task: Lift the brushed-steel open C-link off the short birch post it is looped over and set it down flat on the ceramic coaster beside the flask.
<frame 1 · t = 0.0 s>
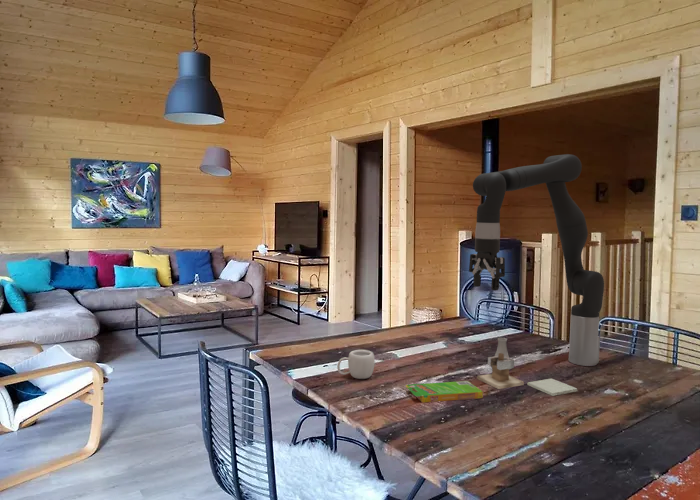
hand: (485, 288, 161), 29 cm above the table, fingers open, 8 cm apart
game box: (443, 396, 148), on the table
flask: (501, 367, 175), on the table
c link: (500, 366, 159), point 5 cm above the table, touching post stand
post stand: (500, 381, 160), on the table
coaster: (551, 388, 155), on the table
mug: (355, 377, 163), on the table
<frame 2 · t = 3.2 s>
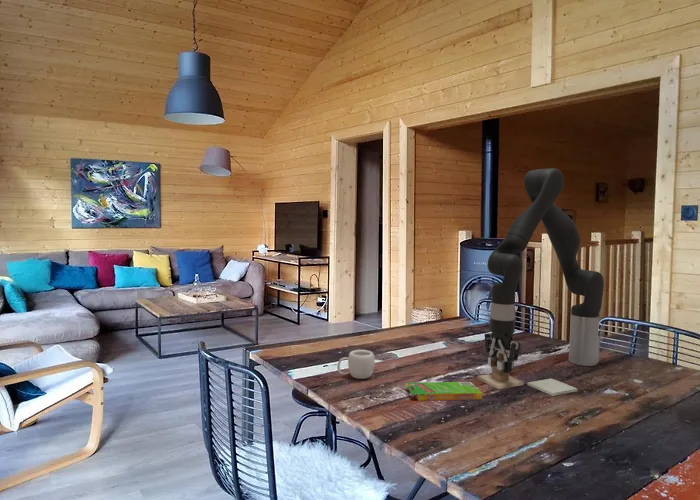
hand: (500, 369, 160), 4 cm above the table, fingers closed on c link, 5 cm apart
c link: (500, 366, 159), point 5 cm above the table, touching gripper, post stand
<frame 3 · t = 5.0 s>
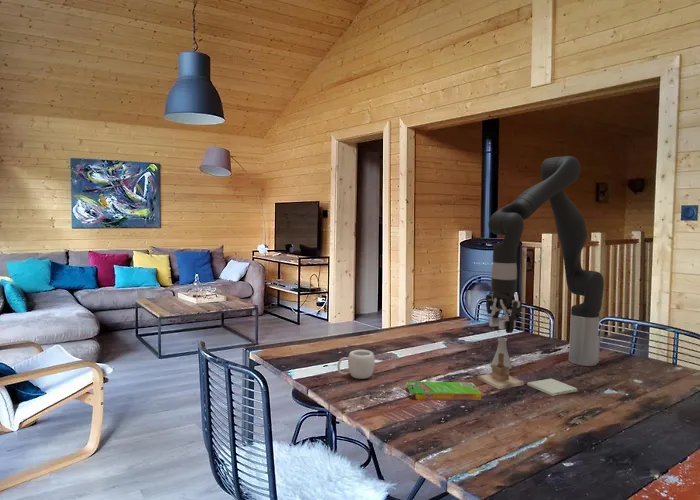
hand: (502, 330, 159), 17 cm above the table, fingers closed on c link, 5 cm apart
c link: (502, 326, 158), point 18 cm above the table, touching gripper
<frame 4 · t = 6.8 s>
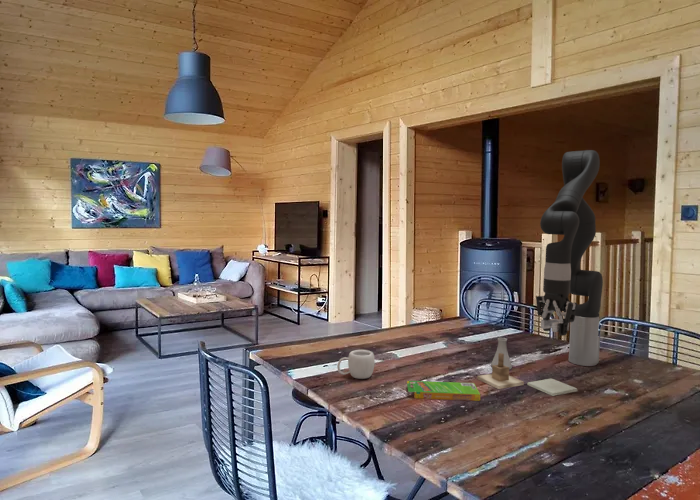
hand: (554, 332, 154), 17 cm above the table, fingers closed on c link, 5 cm apart
c link: (554, 329, 153), point 18 cm above the table, touching gripper
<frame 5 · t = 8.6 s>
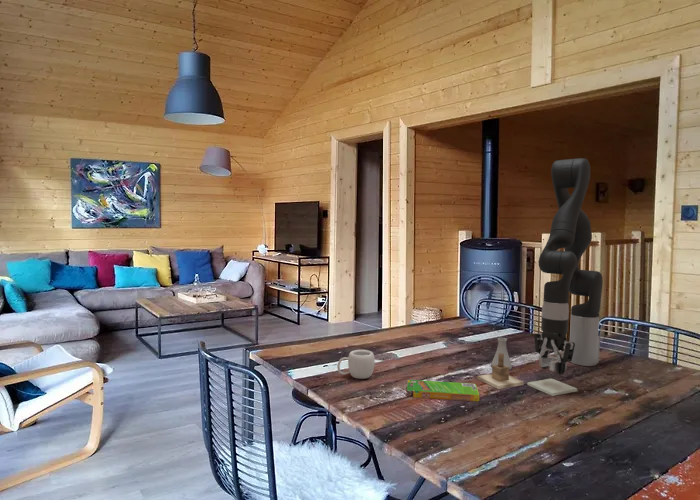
hand: (552, 370, 154), 5 cm above the table, fingers closed on c link, 5 cm apart
c link: (552, 367, 154), point 6 cm above the table, touching gripper
when the fingers open (2 cm above the table, at t = 10.4 s): c link drops 2 cm, resting on coaster.
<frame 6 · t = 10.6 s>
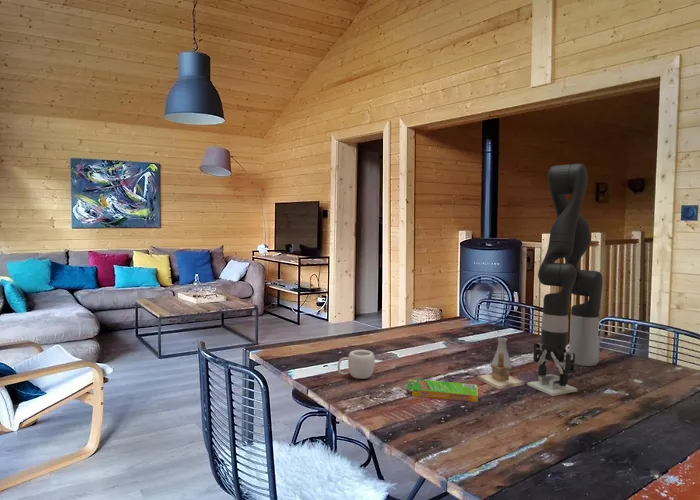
hand: (552, 381, 155), 2 cm above the table, fingers open, 7 cm apart
c link: (552, 385, 155), point 1 cm above the table, touching coaster
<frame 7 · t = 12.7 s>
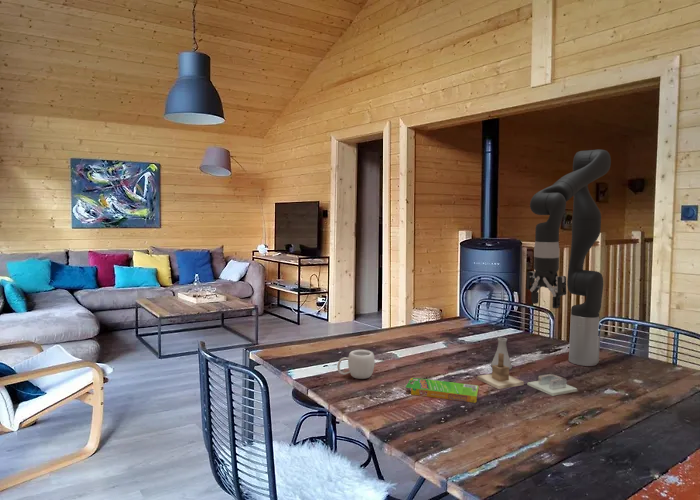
hand: (545, 305, 163), 24 cm above the table, fingers open, 8 cm apart
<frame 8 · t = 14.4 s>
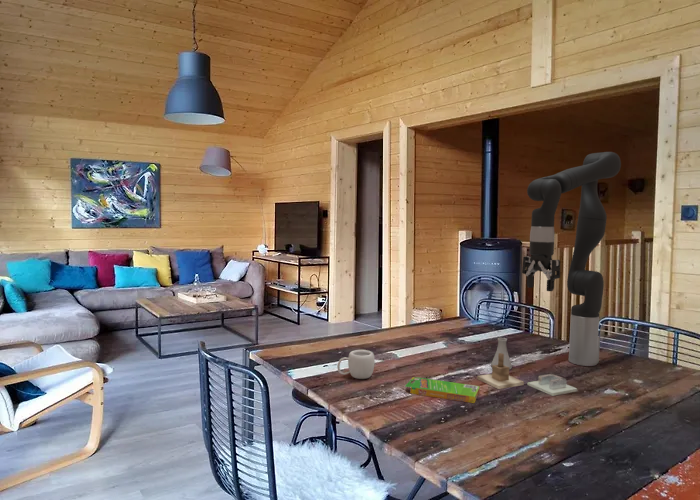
hand: (539, 289, 168), 28 cm above the table, fingers open, 8 cm apart
at the end: c link inside the target area on the coaster (0.1 cm from its centre), point 0.8 cm above the coaster's base; c link point 0.8 cm above the table; the gripper is holding nothing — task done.
